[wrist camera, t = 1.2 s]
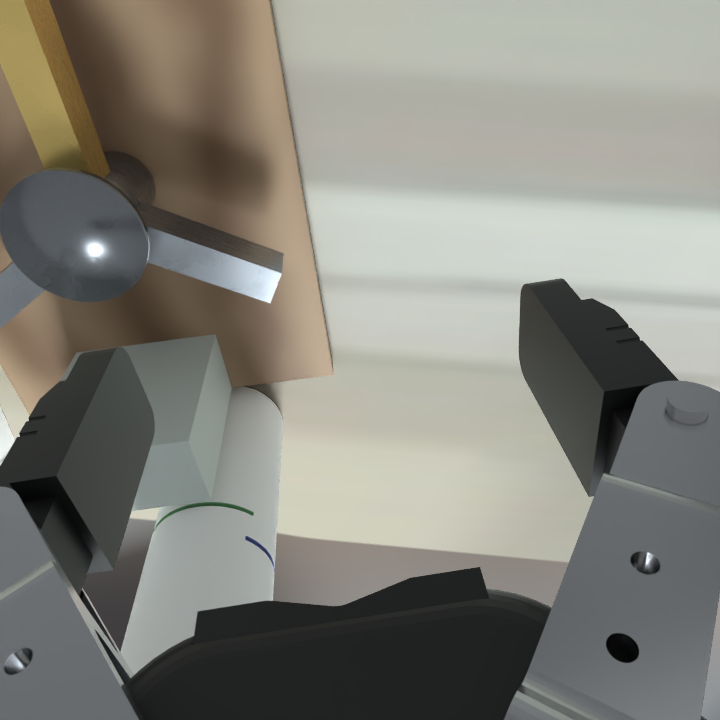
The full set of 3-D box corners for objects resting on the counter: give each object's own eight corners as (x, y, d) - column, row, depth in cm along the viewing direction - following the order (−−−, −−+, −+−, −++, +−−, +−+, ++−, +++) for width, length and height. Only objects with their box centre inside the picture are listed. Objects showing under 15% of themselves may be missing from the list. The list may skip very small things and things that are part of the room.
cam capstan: (233, -38, 26) (209, -35, 20) (290, 255, 34) (286, 320, 28) (-132, 12, 26) (-265, 30, 20) (13, 292, 34) (-51, 364, 28)
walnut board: (261, -55, 27) (259, -55, 26) (332, 364, 41) (333, 374, 40) (-187, 6, 27) (-206, 8, 26) (36, 403, 41) (29, 414, 40)
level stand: (215, 334, 37) (188, 440, 29) (231, 387, 40) (211, 500, 32) (59, 354, 37) (-12, 467, 29) (85, 407, 40) (27, 524, 32)
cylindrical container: (232, 471, 46) (169, 887, 25) (163, 418, 42) (26, 851, 22) (302, 428, 44) (295, 842, 23) (236, 368, 40) (160, 795, 20)
